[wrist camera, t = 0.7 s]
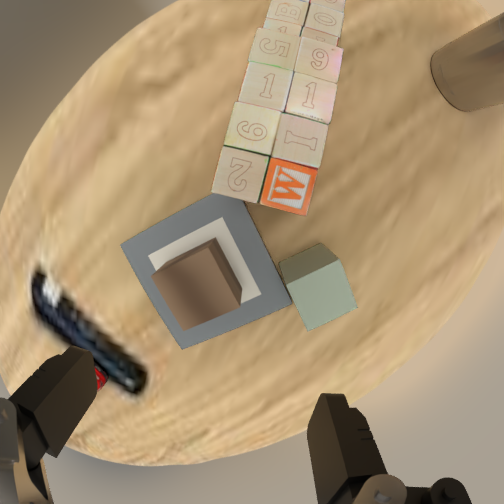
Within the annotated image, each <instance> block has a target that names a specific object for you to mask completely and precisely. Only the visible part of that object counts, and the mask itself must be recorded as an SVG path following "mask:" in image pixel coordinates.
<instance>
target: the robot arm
mask: <svg viewBox="0 0 504 504" xmlns="http://www.w3.org/2000/svg"><path fill="white" fill-rule="evenodd" d="M431 69H432V74H433V77H434V80H435V82H436V85H437V86H438V88H439V90H440V92H441V93H442V94H443V96H444V97H445V98H446V99H447V100H448V101H449V102H450V103H451V104H452V105H453V106H455V107H456V108H458V109H460V110H462V111H473V110H477V109H481V108H485V107H490V106H494V105H498V104H503V103H504V13H502V14H500V15H498V16H496V17H494V18H493V19H491V20H489V21H487V22H485V23H484V24H482V25H480V26H478V27H476V28H475V29H473V30H471V31H470V32H468V33H466V34H464V35H463V36H461V37H459V38H458V39H456V40H454V41H453V42H451V43H449V44H448V45H446V46H444V47H443V48H441V49H440V50H438V51H436V52H435V53H434V55H433V57H432V60H431ZM97 389H98V383H97V378H96V372H95V367H94V360H93V355H92V353H91V352H90V351H87V350H84V349H81V348H78V347H76V346H70V347H69V348H68V349H67V350H66V351H65V352H64V353H63V354H62V355H59V354H58V355H56V356H54V357H52V358H49V359H47V360H46V361H45V362H44V363H43V364H42V365H41V366H40V367H39V370H38V369H37V370H36V371H35V372H34V373H33V375H32V376H30V377H29V378H28V379H27V380H26V381H25V382H24V383H23V384H22V385H21V386H20V387H19V388H18V389H17V390H16V391H15V392H14V393H13V395H12V396H11V397H10V398H9V399H5V398H0V504H54V502H53V499H52V495H51V491H50V488H49V484H48V480H47V475H46V470H45V465H44V461H43V459H42V457H43V455H44V454H45V452H46V453H48V454H49V455H51V456H53V457H55V458H57V456H58V455H59V453H60V452H61V450H62V448H63V447H64V445H65V444H66V442H67V440H68V439H69V437H70V436H71V434H72V432H73V431H74V429H75V428H76V426H77V425H78V423H79V422H80V420H81V419H82V417H83V416H84V414H85V412H86V411H87V409H88V408H89V406H90V405H91V403H92V402H93V400H94V399H95V397H96V394H97ZM307 440H308V445H309V451H310V457H311V462H312V469H313V475H314V481H315V488H316V494H317V500H318V504H472V503H471V500H470V498H469V496H468V494H467V491H466V489H465V487H464V486H463V484H462V483H461V482H459V481H458V480H456V479H453V478H442V479H440V480H438V481H437V482H436V483H434V484H433V486H431V487H430V488H427V487H406V486H405V485H404V483H403V482H402V481H401V480H400V479H398V478H397V477H395V476H392V475H388V473H387V471H386V468H385V466H384V463H383V460H382V458H381V455H380V453H379V450H378V448H377V445H376V443H375V440H373V435H372V433H371V431H370V428H369V425H368V423H367V420H366V418H365V417H364V416H363V415H362V413H361V412H360V411H359V410H358V409H357V408H349V405H348V403H347V400H346V397H345V395H344V394H331V393H322V394H321V395H320V396H319V399H318V401H317V404H316V406H315V409H314V411H313V414H312V416H311V419H310V421H309V424H308V429H307Z"/></svg>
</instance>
